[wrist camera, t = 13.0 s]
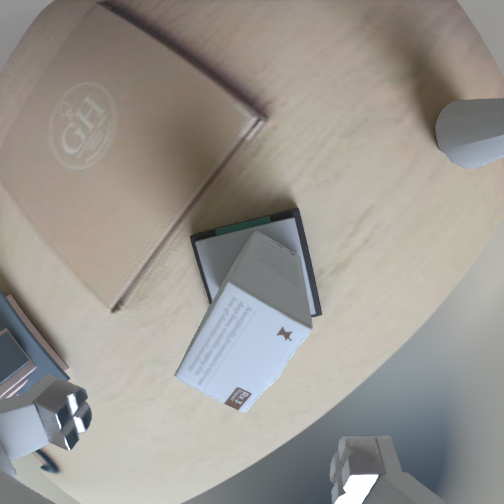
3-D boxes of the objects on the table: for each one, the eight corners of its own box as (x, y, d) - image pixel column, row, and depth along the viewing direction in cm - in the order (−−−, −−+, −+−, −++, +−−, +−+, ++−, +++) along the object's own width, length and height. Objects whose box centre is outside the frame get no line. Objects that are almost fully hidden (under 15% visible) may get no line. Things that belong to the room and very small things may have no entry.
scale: (193, 234, 27) (187, 237, 25) (298, 207, 25) (299, 209, 24) (222, 329, 28) (218, 338, 27) (321, 309, 27) (323, 318, 25)
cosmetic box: (254, 227, 24) (223, 269, 13) (304, 257, 24) (319, 324, 13) (216, 292, 26) (164, 375, 14) (263, 320, 26) (245, 418, 14)
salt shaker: (456, 96, 22) (545, 57, 9) (486, 150, 22) (584, 142, 10) (414, 124, 23) (503, 88, 10) (447, 181, 23) (547, 186, 11)
